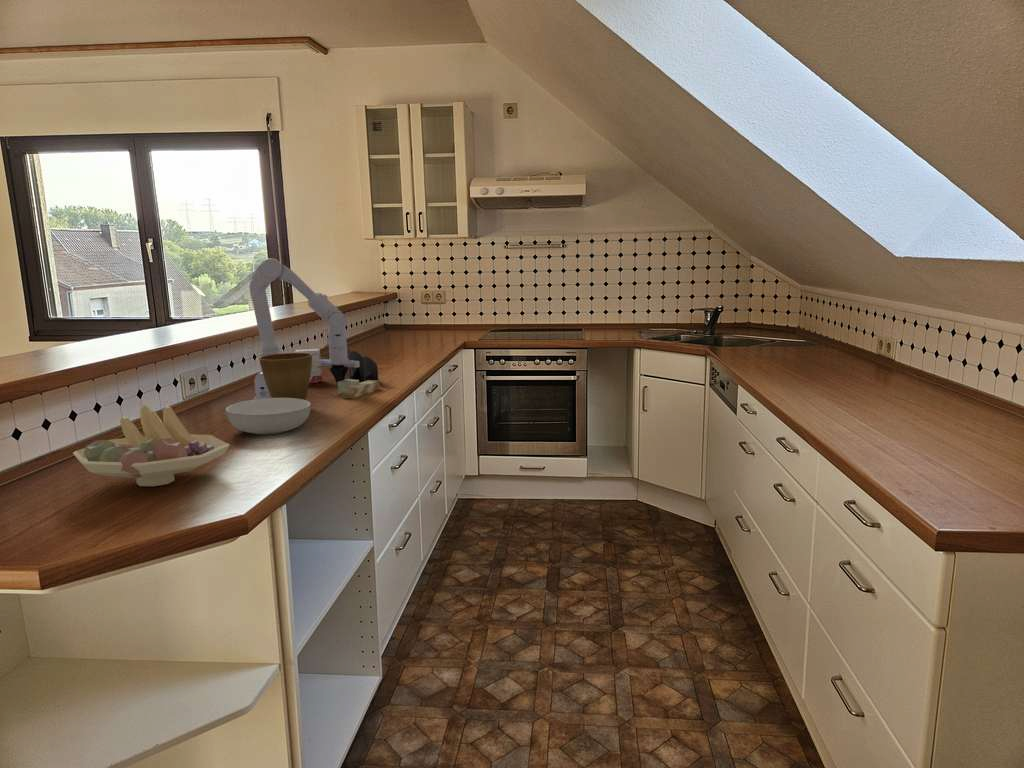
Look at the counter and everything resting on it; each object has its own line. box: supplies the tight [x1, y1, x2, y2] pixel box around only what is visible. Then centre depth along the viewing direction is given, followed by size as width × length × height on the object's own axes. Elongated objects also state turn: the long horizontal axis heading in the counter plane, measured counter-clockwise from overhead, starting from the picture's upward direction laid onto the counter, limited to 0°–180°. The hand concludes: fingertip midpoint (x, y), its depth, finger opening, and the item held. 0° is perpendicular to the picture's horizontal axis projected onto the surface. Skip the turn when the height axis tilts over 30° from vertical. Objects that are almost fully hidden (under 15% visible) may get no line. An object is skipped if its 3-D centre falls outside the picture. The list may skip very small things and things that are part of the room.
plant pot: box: [258, 352, 312, 400], centre depth 208 cm, size 15×15×16 cm
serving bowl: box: [225, 398, 312, 436], centre depth 183 cm, size 21×21×7 cm
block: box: [337, 379, 359, 395], centre depth 231 cm, size 5×5×4 cm
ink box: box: [293, 348, 323, 384], centre depth 250 cm, size 9×5×12 cm, turn 103°
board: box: [341, 380, 380, 399], centre depth 230 cm, size 16×4×3 cm, turn 159°
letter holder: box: [338, 346, 380, 383], centre depth 248 cm, size 10×20×14 cm, turn 24°
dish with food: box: [72, 404, 231, 487], centre depth 142 cm, size 28×28×14 cm
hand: (340, 388), depth 233 cm, fingers closed
